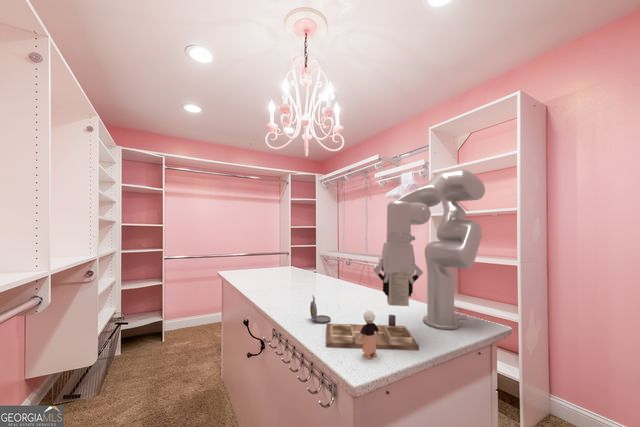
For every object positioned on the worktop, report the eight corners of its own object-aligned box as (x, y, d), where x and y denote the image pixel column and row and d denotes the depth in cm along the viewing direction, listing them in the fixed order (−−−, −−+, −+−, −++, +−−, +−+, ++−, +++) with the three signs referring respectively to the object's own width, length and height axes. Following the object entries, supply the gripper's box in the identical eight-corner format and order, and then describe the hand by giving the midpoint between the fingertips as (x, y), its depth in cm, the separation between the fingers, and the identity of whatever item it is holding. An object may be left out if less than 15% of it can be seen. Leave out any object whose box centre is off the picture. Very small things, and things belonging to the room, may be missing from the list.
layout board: (403, 329, 95) (403, 313, 96) (419, 350, 79) (419, 330, 80) (326, 326, 96) (326, 311, 96) (326, 347, 80) (326, 327, 80)
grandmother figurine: (371, 349, 79) (371, 306, 80) (381, 354, 76) (382, 309, 77) (354, 357, 74) (355, 312, 74) (365, 363, 71) (366, 315, 72)
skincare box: (405, 303, 87) (406, 265, 87) (409, 306, 82) (409, 267, 83) (385, 301, 87) (386, 264, 88) (388, 305, 83) (389, 266, 84)
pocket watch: (333, 320, 103) (334, 294, 103) (320, 326, 96) (320, 298, 97) (318, 315, 108) (318, 290, 109) (303, 321, 102) (304, 294, 102)
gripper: (421, 239, 89) (420, 293, 88) (369, 237, 90) (368, 291, 89) (429, 240, 82) (429, 299, 81) (373, 238, 82) (372, 297, 81)
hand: (397, 294), depth 85 cm, fingers closed on skincare box, 6 cm apart
